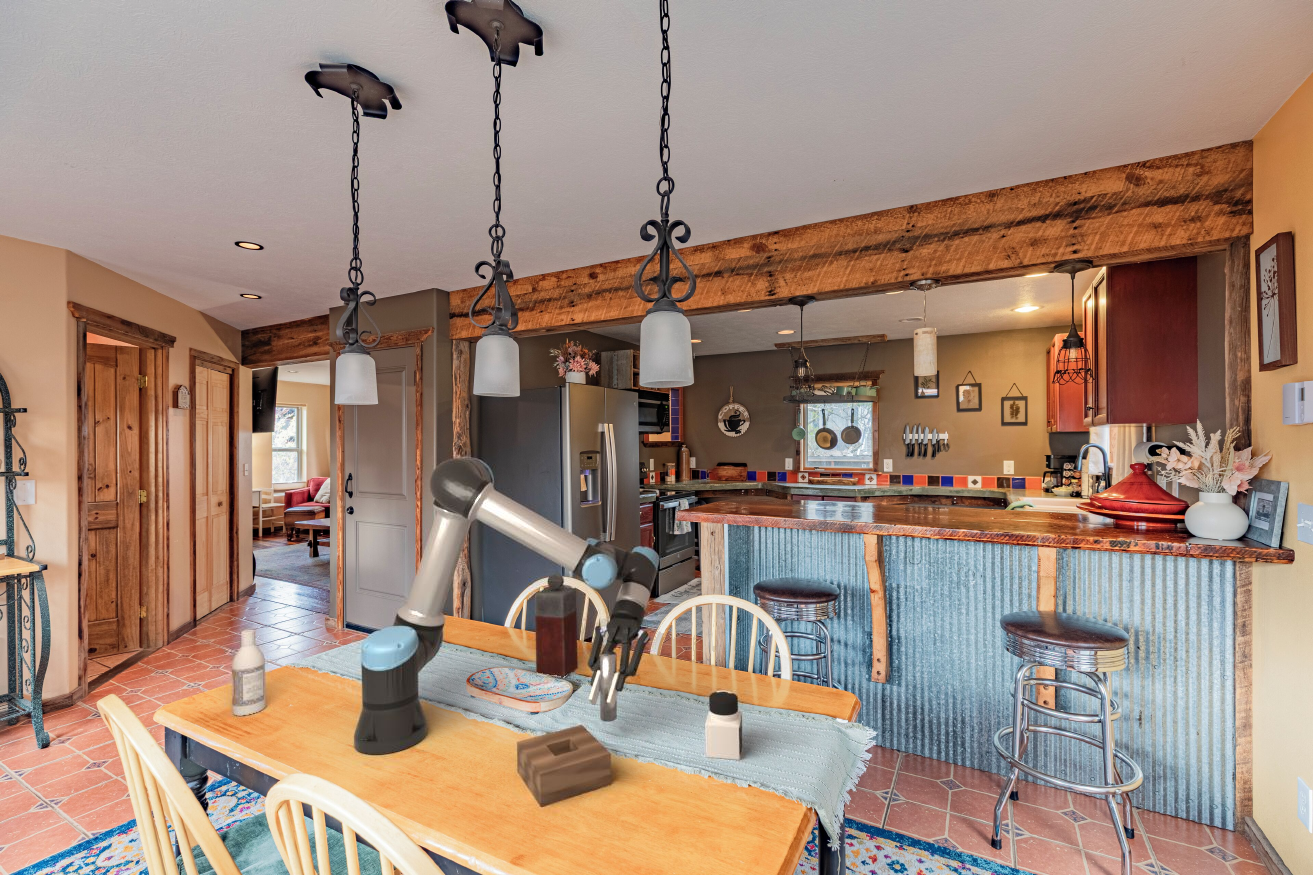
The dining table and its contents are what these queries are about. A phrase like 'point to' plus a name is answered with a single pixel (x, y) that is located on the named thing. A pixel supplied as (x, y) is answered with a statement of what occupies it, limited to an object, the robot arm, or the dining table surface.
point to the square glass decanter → (556, 628)
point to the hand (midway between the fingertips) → (601, 703)
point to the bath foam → (248, 677)
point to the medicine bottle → (723, 726)
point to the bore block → (563, 764)
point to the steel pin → (607, 685)
